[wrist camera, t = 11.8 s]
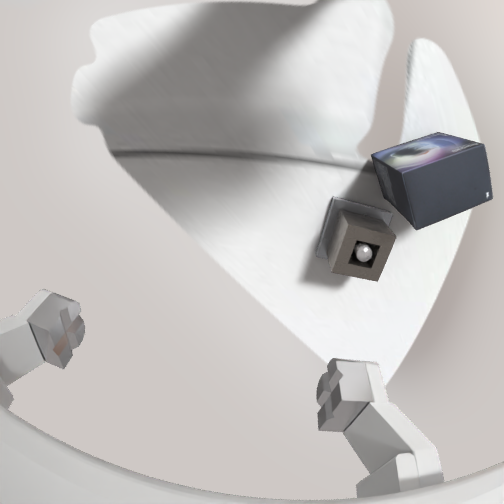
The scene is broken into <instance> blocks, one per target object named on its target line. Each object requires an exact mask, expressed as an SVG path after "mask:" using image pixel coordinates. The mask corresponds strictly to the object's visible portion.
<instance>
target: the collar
mask: <svg viewBox="0 0 504 504" xmlns="http://www.w3.org/2000/svg"><path fill="white" fill-rule="evenodd" d="M395 239H396V236H395V234H394V233H393V232H392V231H391V229H390V228H389V227H388V226H387V224H386V223H385V222H384V221H383V220H381V219H377V218H374V217H370V216H366V215H362V214H359V213H355V212H351V211H347V210H343V209H339V212H338V216H337V219H336V222H335V225H334V228H333V231H332V235H331V238H330V241H329V244H328V247H327V250H326V254H327V258H328V261H329V265H330V268H331V272H332V273H337V274H342V275H347V276H352V277H357V278H362V279H367V280H372V281H377V282H378V280H379V277H380V275H381V273H382V271H383V268H384V266H385V264H386V261H387V259H388V256H389V254H390V252H391V249H392V247H393V244H394V242H395ZM357 240H358V241H363V242H367V244H368V245H369V247H370V249H371V251H372V257H371V258H370V259H369V260H368V261H365V262H362V261H360V260H359V259H358V258H357V256H356V253H355V251H354V246H355V243H356V241H357Z"/></svg>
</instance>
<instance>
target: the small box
mask: <svg viewBox="0 0 504 504" xmlns="http://www.w3.org/2000/svg"><path fill="white" fill-rule="evenodd" d="M371 157H372V160H373V164H374V167H375V170H376V173H377V176H378V179H379V183H380V186H381V189H382V193H383V196H384V198H385V199H386V200H388V201H389V203H391V204H392V205H393V206H394V207H395V208H396V209H397V210H398V211H399V212H400V213H401V214H402V215H403V216H404V217H405V218H406V219H407V220H408V221H409V222H410V224H411V225H412V226H413V227H414V229H415V230H419V229H421V228H424V227H427V226H429V225H432V224H434V223H436V222H439V221H442V220H444V219H446V218H449V217H451V216H454V215H456V214H458V213H461V212H463V211H466V210H468V209H471V208H473V207H475V206H478V205H480V204H482V203H485V202H487V201H489V200H492V199H493V193H492V185H491V178H490V172H489V165H488V159H487V154H486V149H485V145H484V144H481V143H477V142H474V141H470V140H467V139H463V138H459V137H455V136H452V135H448V134H444V133H440V132H437V133H434V134H431V135H428V136H424V137H421V138H418V139H415V140H412V141H409V142H406V143H403V144H400V145H397V146H394V147H391V148H388V149H385V150H382V151H380V152H376V153H374V154H372V155H371Z"/></svg>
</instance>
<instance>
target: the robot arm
mask: <svg viewBox="0 0 504 504" xmlns="http://www.w3.org/2000/svg"><path fill="white" fill-rule="evenodd" d="M80 312H81V308H80V304H79V303H78V302H76V301H74V300H72V299H69V298H66V297H64V296H61V295H59V294H56V293H53V292H50V291H48V290H46V289H42V290H39V292H38V293H37V294H36V295H35V296H34V297H33V298H32V299H31V300H30V301H29V302H28V303H27V304H26V305H25V306H24V307H23V308H22V309H21V311H20V312H19V313H18V314H17V315H16V316H14V315H11V316H9V317H6V318H4V319H1V320H0V504H504V462H501V463H499V464H496V465H494V466H491V467H489V468H486V469H484V470H481V471H478V472H476V473H473V474H470V475H467V476H464V477H460V478H457V479H454V480H450V481H447V482H444V477H443V472H442V468H441V464H440V459H439V456H438V451H437V448H436V447H435V446H434V445H433V444H432V443H431V442H430V441H429V439H427V437H426V436H425V435H424V434H423V433H422V432H421V431H420V430H419V429H418V428H417V427H416V426H415V425H414V424H413V423H412V422H411V421H410V420H409V419H408V418H407V417H406V416H405V415H404V414H403V413H402V411H401V410H400V409H399V408H397V406H396V405H395V404H394V403H389V400H388V396H387V392H386V388H385V385H384V381H383V377H382V374H381V370H380V367H379V364H378V363H377V362H369V361H358V360H347V359H337V358H333V359H331V360H330V362H329V364H328V365H327V368H328V372H326V373H324V374H323V375H322V376H321V378H320V380H319V383H318V387H317V402H318V404H319V405H320V406H321V409H320V410H319V412H318V428H319V431H333V432H344V433H343V434H344V435H345V437H346V439H347V440H348V442H349V443H350V445H351V446H352V448H353V449H354V451H355V452H356V454H357V455H358V457H359V458H360V459H361V461H362V463H363V464H364V465H365V467H366V468H367V470H368V471H369V473H370V475H369V476H367V477H366V478H364V479H363V480H361V481H360V482H359V483H358V484H357V485H356V488H357V498H351V499H336V500H282V499H281V500H280V499H266V498H254V497H246V496H238V495H230V494H224V493H218V492H212V491H206V490H201V489H196V488H191V487H187V486H183V485H179V484H174V483H170V482H167V481H163V480H160V479H156V478H153V477H149V476H146V475H143V474H140V473H137V472H134V471H131V470H128V469H125V468H122V467H120V466H117V465H114V464H112V463H109V462H106V461H104V460H101V459H99V458H96V457H94V456H92V455H90V454H87V453H85V452H83V451H81V450H79V449H76V448H74V447H72V446H70V445H68V444H66V443H64V442H62V441H60V440H58V439H56V438H54V437H52V436H50V435H49V434H47V433H45V432H43V431H42V430H40V429H38V428H36V427H35V426H33V425H31V424H29V423H28V422H26V421H25V420H23V419H21V418H20V417H18V416H17V415H15V414H14V413H12V412H11V411H9V410H8V408H9V406H10V405H11V403H12V401H13V400H14V399H13V395H12V394H11V392H10V391H9V389H8V388H7V386H8V385H9V384H11V383H13V382H14V381H16V380H17V379H19V378H21V377H22V376H24V375H25V374H27V373H29V372H30V371H32V370H34V369H35V368H37V367H38V366H40V365H42V364H43V363H45V361H46V362H48V363H50V364H52V365H55V366H57V367H59V368H62V369H64V368H65V367H66V365H67V363H68V362H69V361H70V359H71V357H72V356H73V354H72V349H74V348H76V347H78V346H79V345H80V343H81V342H82V340H83V337H84V333H85V325H84V321H83V319H82V318H81V317H80V316H79V313H80Z"/></svg>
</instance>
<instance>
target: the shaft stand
mask: <svg viewBox="0 0 504 504" xmlns="http://www.w3.org/2000/svg"><path fill="white" fill-rule="evenodd" d="M339 209H343V210H347V211H351V212H355V213H359V214H362V215H366V216H370V217H374V218H377V219H381V220H383V221H384V222H385V223H386V224H387V226H389V223H390V221H391V218H392V215H393V214H392V213H391V212H389V211H385V210H382V209H378V208H375V207H371V206H368V205H364V204H360V203H357V202H353V201H349V200H345V199H341V198H338V197H334V196H333V198H332V202H331V205H330V209H329V212H328V215H327V219H326V222H325V225H324V229H323V232H322V235H321V238H320V242H319V245H318V248H317V251H316V256H317V257H319V258H324V259H328V258H327V254H326V250H327V247H328V244H329V241H330V238H331V235H332V231H333V228H334V225H335V222H336V219H337V216H338V212H339ZM354 251H355V253H356V256H357V258H358V259H359V260H360V261H362V262H365V261H368V260H369V259H370V258H371V257H372V251H371V249H370V247H369V245H368V244H367V242H363V241H358V240H357V241H356V243H355V246H354Z"/></svg>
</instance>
